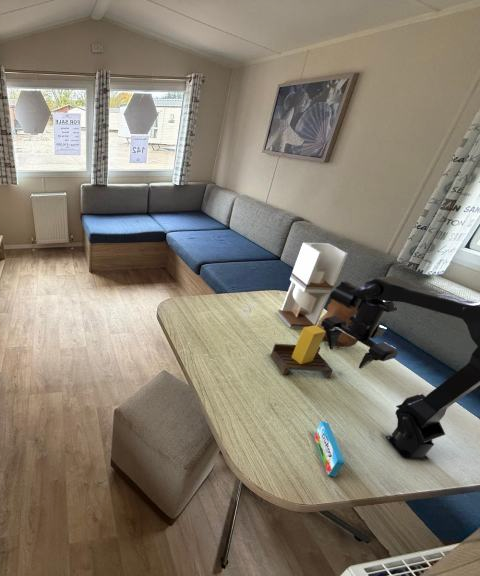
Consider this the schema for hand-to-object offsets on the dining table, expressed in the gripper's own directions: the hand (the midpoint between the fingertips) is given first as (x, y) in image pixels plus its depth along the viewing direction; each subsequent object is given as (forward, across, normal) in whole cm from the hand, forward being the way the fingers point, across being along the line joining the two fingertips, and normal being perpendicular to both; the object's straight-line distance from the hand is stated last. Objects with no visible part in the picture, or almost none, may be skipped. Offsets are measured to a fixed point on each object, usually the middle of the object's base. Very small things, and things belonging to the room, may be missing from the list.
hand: (345, 358), depth 97 cm
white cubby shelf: (+13, +34, -24) cm, 44 cm away
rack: (+13, +11, +1) cm, 17 cm away
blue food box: (+13, -17, +24) cm, 32 cm away
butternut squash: (+13, +18, -25) cm, 33 cm away
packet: (+10, +11, +1) cm, 15 cm away
